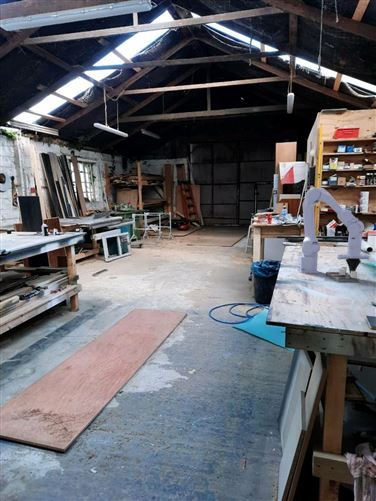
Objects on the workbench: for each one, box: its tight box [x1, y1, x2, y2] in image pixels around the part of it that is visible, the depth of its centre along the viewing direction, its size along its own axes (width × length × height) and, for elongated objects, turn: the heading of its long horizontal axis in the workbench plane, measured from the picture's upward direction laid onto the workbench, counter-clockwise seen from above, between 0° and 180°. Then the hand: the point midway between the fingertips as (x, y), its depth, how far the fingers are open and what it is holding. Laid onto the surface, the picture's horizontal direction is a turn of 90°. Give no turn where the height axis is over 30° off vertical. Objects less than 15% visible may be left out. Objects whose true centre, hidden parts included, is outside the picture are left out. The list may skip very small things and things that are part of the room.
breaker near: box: [350, 270, 358, 278], centre depth 152 cm, size 2×2×3 cm
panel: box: [325, 271, 360, 283], centre depth 158 cm, size 10×14×1 cm
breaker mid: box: [338, 267, 347, 275], centre depth 157 cm, size 2×2×3 cm
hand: (352, 273), depth 157 cm, fingers closed
